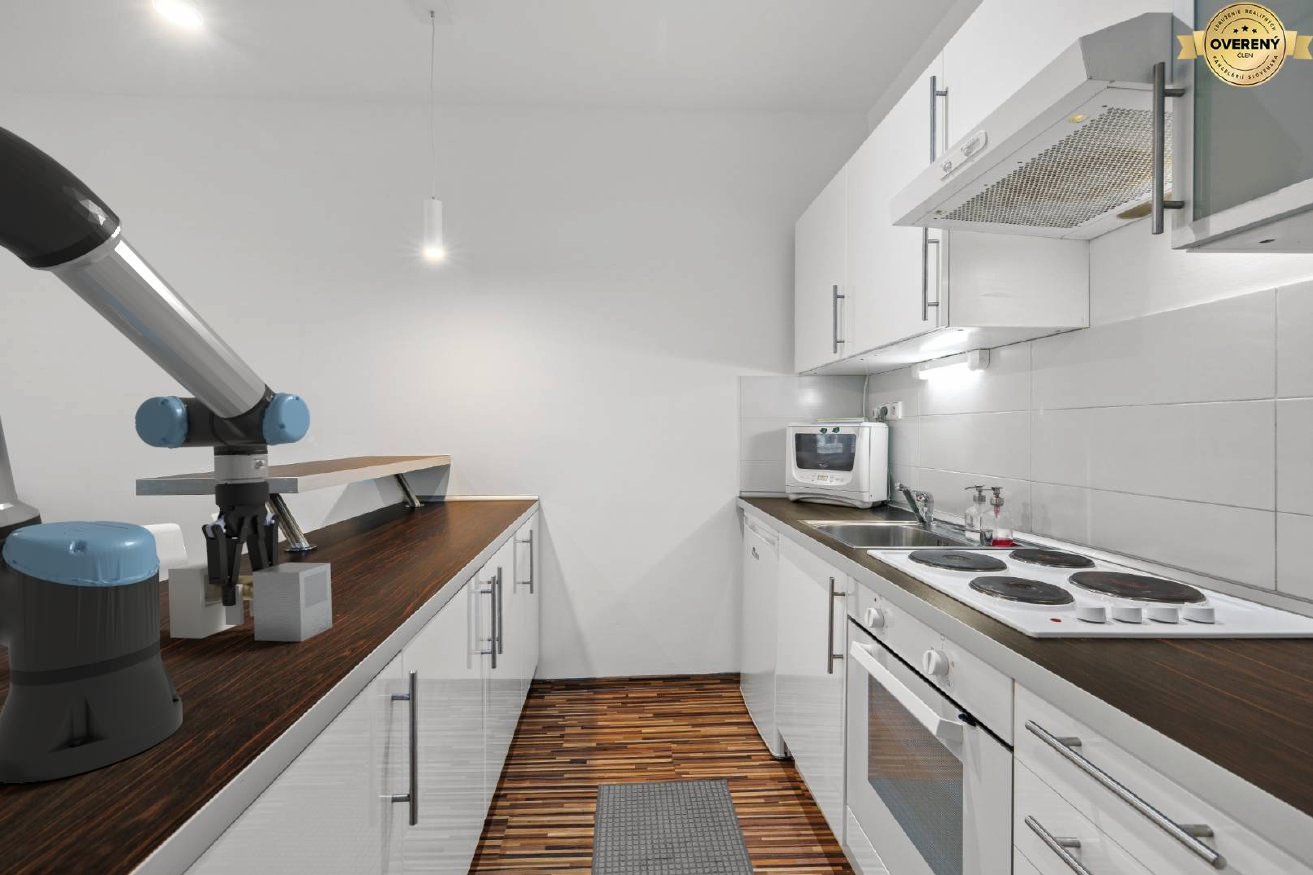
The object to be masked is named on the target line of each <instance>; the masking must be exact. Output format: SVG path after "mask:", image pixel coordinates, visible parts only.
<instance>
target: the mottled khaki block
mask: <svg viewBox="0 0 1313 875" xmlns="http://www.w3.org/2000/svg"><path fill="white" fill-rule="evenodd" d="M228 578H230V577H229V576H228ZM237 584H243V601H250V600H253V575H240V574H239V578H238V583H237ZM214 594H215V596H216V597H217V598H218V599H221V600H222V588H221V586H216V585H215V586H214Z"/></svg>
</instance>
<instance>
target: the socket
mask: <svg viewBox="0 0 1313 875" xmlns="http://www.w3.org/2000/svg"><path fill="white" fill-rule="evenodd" d="M167 573H168V576H167V579H168V602H169V603H168V605H169V633H170V634H169V636H170V638H175V639H176V638H177V639H178V638H179V639H180V638H181V639H203V638H207V637H209V636H211V635H214V634H218V633H220V632H223V631H225V630H228V629H231V628H233V627H236V626H237V625H226V618H225V606H223V604H222V600H221V599H218V598H217V597H216V596H215V594H214V586H215V585H211V584H209V579H208V564H207V559H205V560H204V559H203V560H199V561H196V562H192V563H187V564H182V565H179V566H175V567H169V568H168V569H167Z"/></svg>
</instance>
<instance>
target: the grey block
mask: <svg viewBox="0 0 1313 875" xmlns="http://www.w3.org/2000/svg"><path fill="white" fill-rule="evenodd" d="M331 570H332V569H331V562H284V563H281V564H278V565H276V566H273V567H269V568H265V569H262V570H258V571H255V572H252V576H253V600H254V616H253V620H254V621H253V622H254V623H253V624H254V626H253V627H254V641H273V642H301V643H302V642H304V641H306V640H308V639H311V638H313V637H315V636H317V635H319V634H321V633H323V632H325V631H327V630H330V629H332V628H333V609H332V608H333V606H332V580H331V578H332V577H331V572H332V571H331Z"/></svg>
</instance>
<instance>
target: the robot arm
mask: <svg viewBox="0 0 1313 875" xmlns="http://www.w3.org/2000/svg"><path fill="white" fill-rule="evenodd" d="M122 223H123V222H122V220H121V219H120V217H119V216H118V215H117V214H116V213H115V212H114V211H113V210H112V209H111V207H109V206H108V205H107V204H106V203H105V202H104V201H103V200H102V199H101V198H100V197H99V196H98V195H97V194H96V193H95V192H94V191H93V190H92V189H91V188H90V187H89V186H88V185H87V184H85V182H83V181H82V180H81V179H80V178H78V177H77V176H76V175H75V174H74V173H73V172H72V171H70V170H69V169H68V168H66V166H64V165H63V164H61V163H60V162H58V161H57V160H56V159H54V158H53V157H52V156H51V155H49V154H48V153H46V152H44V151H43V150H42V149H40V148H39V147H37V146H35V145H34V144H33V143H31V142H29V141H27V140H26V139H24V138H22V137H21V136H19V135H18V134H15V133H14V132H12V131H10V130H9V129H7V128H5V127H2V126H0V246H1V247H2V248H4V249H6V250H7V251H9V252H10V253H12V254H13V255H15V256H16V257H17V258H18V259H19V260H21V261H22V263H24V264H25V265H27V266H28V267H29V268H31V269H33V270H37V271H44V272H51V274H53V275H54V276H55V277H57V278H58V279H59V280H60V281H61V282H62V283H64V284H65V285H66V286H67V287H68V288H70V290H72V292H74V293H75V294H76V295H77V296H78V297H79V298H81V299H82V300H83V301H84V302H85V303H87V305H88V306H90V307H91V308H92V309H93V310H94V311H95V312H97V313H98V314H99V315H100V316H101V317H103V318H104V319H105V320H106V321H107V322H108V323H109V324H110V325H112V326H113V327H114V328H115V329H116V330H117V331H119V332H120V333H121V334H122V335H123V336H124V337H126V338H127V339H128V340H129V341H130V342H131V343H132V344H133V345H135V347H137V348H138V349H140V351H141V352H143V353H144V354H145V355H146V356H147V357H148V358H149V359H150V360H151V361H153V362H154V363H155V364H156V365H158V366H159V368H161V369H162V370H163V371H164V372H166V373H167V374H168V375H169V376H170V377H171V378H173V380H175V381H176V382H177V383H178V384H180V386H182V387H183V388H184V389H185V390H186V391H187V392H188V393H190V394H191V395H192V396H193V397H179V396H176V395H171V396H170V395H168V396H153V397H150V398H148V399H146V400H144V402H142V403H141V404H140V406H139V407H138V409H137V410H136V413H135V417H134V420H135V422H134V424H135V425H134V427H135V432H136V434H137V435H138V438H140V439H141V440H142V441H143V442H144V443H145V444H146V445H148V446H150V447H154V448H165V449H166V448H167V449H170V450H173V449H177V448H178V449H179V448H207V447H209V448H210V447H211V448H212V447H213V456H214V457H213V462H214V464H213V465H214V466H213V467H214V472H213V473H214V474H213V476H214V480H215V481H217V482H218V483H217V484H216V485H214V496H215V497H214V498H215V499H214V500H215V505H216V506H217V507H218V508H219V513H218V515H217V519H216V520H215V521H213V522H212V523H209V524H208V523H206V524H202V526H201V532H202V534H203V536H204V538H205V545H206V548H205V549H206V558H207V559H206V560H207V564H208V579H209V584H211V585H216V586H221V588H222V604H223V606H225V618H226V625H236V626H242V625H244V624H245V622H244V620H245V619H244V618H245V617H244V600H243V584H237V583H238V578H239V575H240V570H241V569H240V568H241V562H242V556H243V549H244V548H243V547H244V545H245V544H246V548H247V549H246V550H247V553H248V554H247V555H248V558H249V563H250V566H251V572H252V573H253V572H255V571H258V570H262V569H265V568H269V567H273V566H276V565H279V527H280V522H281V518H282V516H281V514H280V513H270V512H269V511H268V508H267V506H266V504H267V503H268V502H269V501H270V500H271V499H270V498H271V497H270V482H268V480H265V479H266V478H267V479H268V477H269V476H270V475H269V455H268V454H269V453H268V452H269V451H268V450H269V449H268V446H271V447H274V446H277V445H283V444H284V445H285V444H286V445H287V444H295V443H296V442H297V443H298V442H299V441H301V440H302V439H303V438H304V437H305V436H306V434H307V433H308V430H309V428H310V424H311V414H310V410H309V407H308V404H307V403H306V402H305V400H304V399H303V398H302V397H300V396H299V395H296V394H293V393H286V392H278V393H276V392H275V391H273V389H271V387H270V386H268V384H267V383H265V382H264V380H263V379H262V378H261V377H260V376H259V375H258V374H257V373H256V372H255V371H254V370H253V369H252V368H251V367H250V366H249V365H248V364H247V363H246V361H244V360H243V359H242V357H241V356H239V354H238V353H237V352H236V351H235V350H234V349H233V348H232V347H231V346H230V345H229V344H228V343H227V342H226V341H225V340H224V339H223V338H222V337H221V336H220V335H219V334H218V333H217V332H216V331H215V330H214V329H213V328H212V327H211V326H210V325H209V323H207V321H205V319H203V317H202V316H201V315H200V314H199V313H198V312H197V311H196V310H195V309H194V308H193V307H192V306H191V305H190V304H189V303H188V302H187V301H186V300H185V298H184V297H183V296H182V295H181V294H179V293H178V291H176V290H175V289H174V288H173V287H172V285H171V284H170V283H169V282H168V281H167V280H166V279H165V278H164V277H163V276H162V275H161V274H160V273H159V271H157V270H156V269H155V268H154V266H152V264H150V263H149V261H148V260H146V258H145V257H144V256H143V255H142V254H141V253H140V252H139V251H138V250H137V249H136V248H135V247H134V246H133V245H132V244H131V243H130V242H129V241H128V240H127V239H126V238H125V237H124V236H123V235H122V226H123V224H122ZM1 417H2V416H0V648H8V667H9V668H8V669H9V690H8V693H7V697H6V698H5V701H4V704H3V707H2V709H1V712H0V782H4V783H3V784H7V783H8V782H10V783H13V782H14V783H16V782H17V783H19V782H20V784H26V783H25V782H32V783H37V782H38V781H40V782H46V781H51V780H57V779H60V778H66V777H70V776H75V775H79V774H82V773H86V772H89V771H92V770H93V771H94V770H96V769H99V768H103V767H106V766H109V765H111V764H114V763H116V762H117V763H118V762H120V761H123V760H125V759H128V758H130V757H133V756H135V755H137V754H140V753H142V752H145V750H148V749H150V748H152V747H154V746H156V745H158V744H159V743H161V742H163V741H164V740H166V739H167V738H169V737H170V736H172V735H173V734H174V733H175V732H176V731H178V730H179V728H180V727H181V726H182V723H183V717H184V716H183V703H182V698H181V697H180V695H179V694H178V692H177V689H176V686H175V685H174V682H173V680H172V678H171V676H170V674H169V672H168V670H167V668H166V666H165V663H164V662H163V660H162V655H161V653H162V652H161V624H160V623H161V621H160V620H161V618H160V617H161V616H160V615H161V614H160V613H161V611H160V607H161V606H160V568H161V566H160V563H161V561H160V558H159V557H158V552H157V543H156V538H155V536H154V534H153V533H152V531H150V530H149V529H148V528H146V527H144V526H142V525H138V524H134V523H129V522H122V521H111V520H110V521H107V520H97V521H86V520H75V521H74V520H73V521H71V520H70V521H55V522H47V523H42V518H41V512H40V510H39V509H38V508H35V507H33V506H32V505H30V504H28V503H25V502H24V501H21V500H20V499H19V498H18V495H17V491H16V486H15V482H14V481H15V480H14V476H13V471H12V467H11V463H10V457H9V451H8V448H7V442H6V438H5V433H4V428H3V423H2V422H3V421H2V418H1ZM228 576H229V577H230V578H228ZM249 616H250V617H254V600H249ZM44 780H45V781H44ZM36 781H37V782H36ZM21 782H22V783H21ZM38 783H39V782H38Z"/></svg>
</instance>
